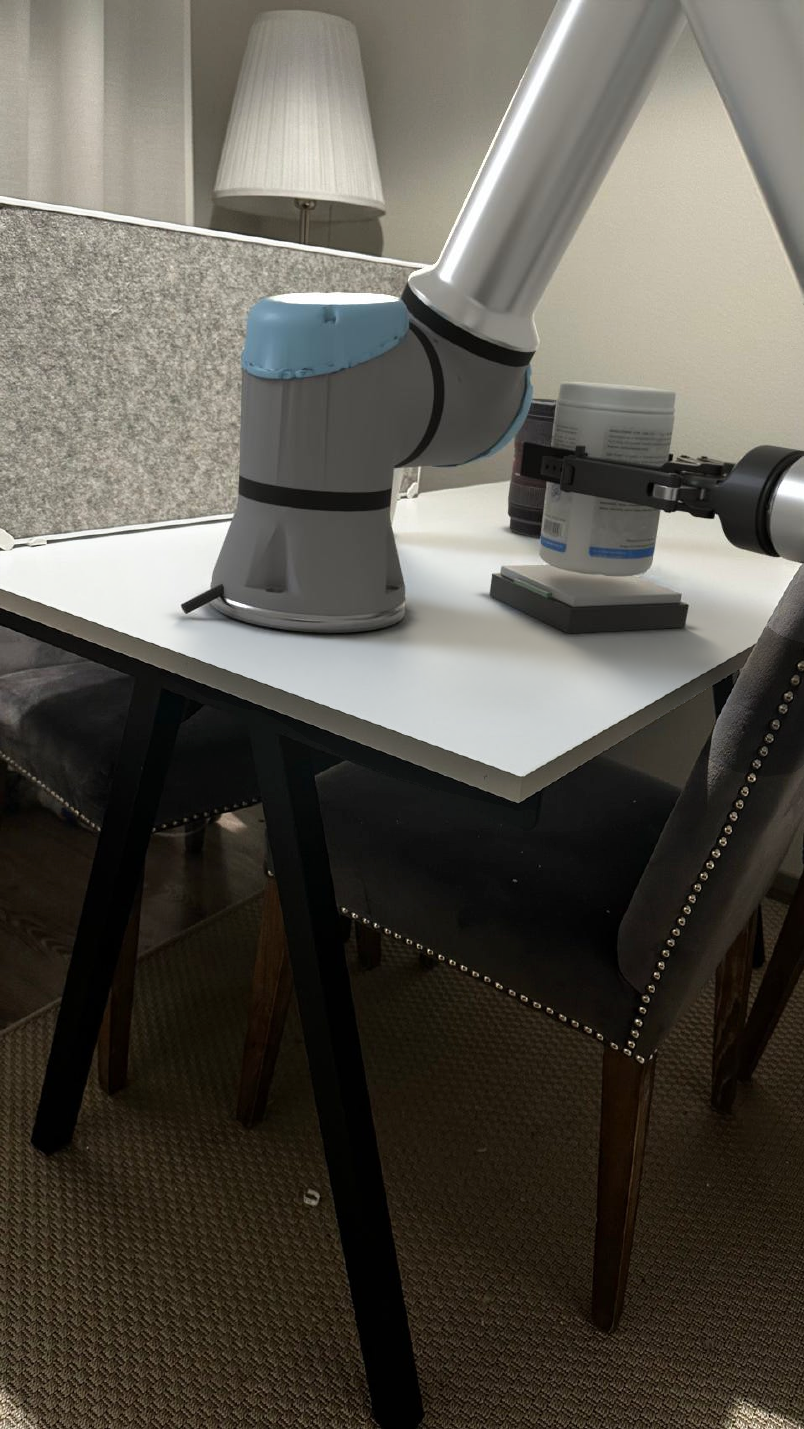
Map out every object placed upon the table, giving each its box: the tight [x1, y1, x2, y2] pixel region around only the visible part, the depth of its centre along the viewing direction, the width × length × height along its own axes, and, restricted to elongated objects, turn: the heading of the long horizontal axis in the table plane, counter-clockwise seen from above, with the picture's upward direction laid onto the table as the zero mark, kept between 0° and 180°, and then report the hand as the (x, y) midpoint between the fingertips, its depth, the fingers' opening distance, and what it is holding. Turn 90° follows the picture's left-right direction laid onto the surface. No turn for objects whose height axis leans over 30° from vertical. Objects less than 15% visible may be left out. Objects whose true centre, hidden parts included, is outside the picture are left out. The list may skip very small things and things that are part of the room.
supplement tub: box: [538, 380, 677, 577], centre depth 90 cm, size 10×10×15 cm
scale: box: [489, 564, 690, 634], centre depth 93 cm, size 12×12×3 cm
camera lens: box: [507, 398, 557, 538], centre depth 126 cm, size 8×8×15 cm
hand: (569, 458), depth 93 cm, fingers closed on supplement tub, 9 cm apart
